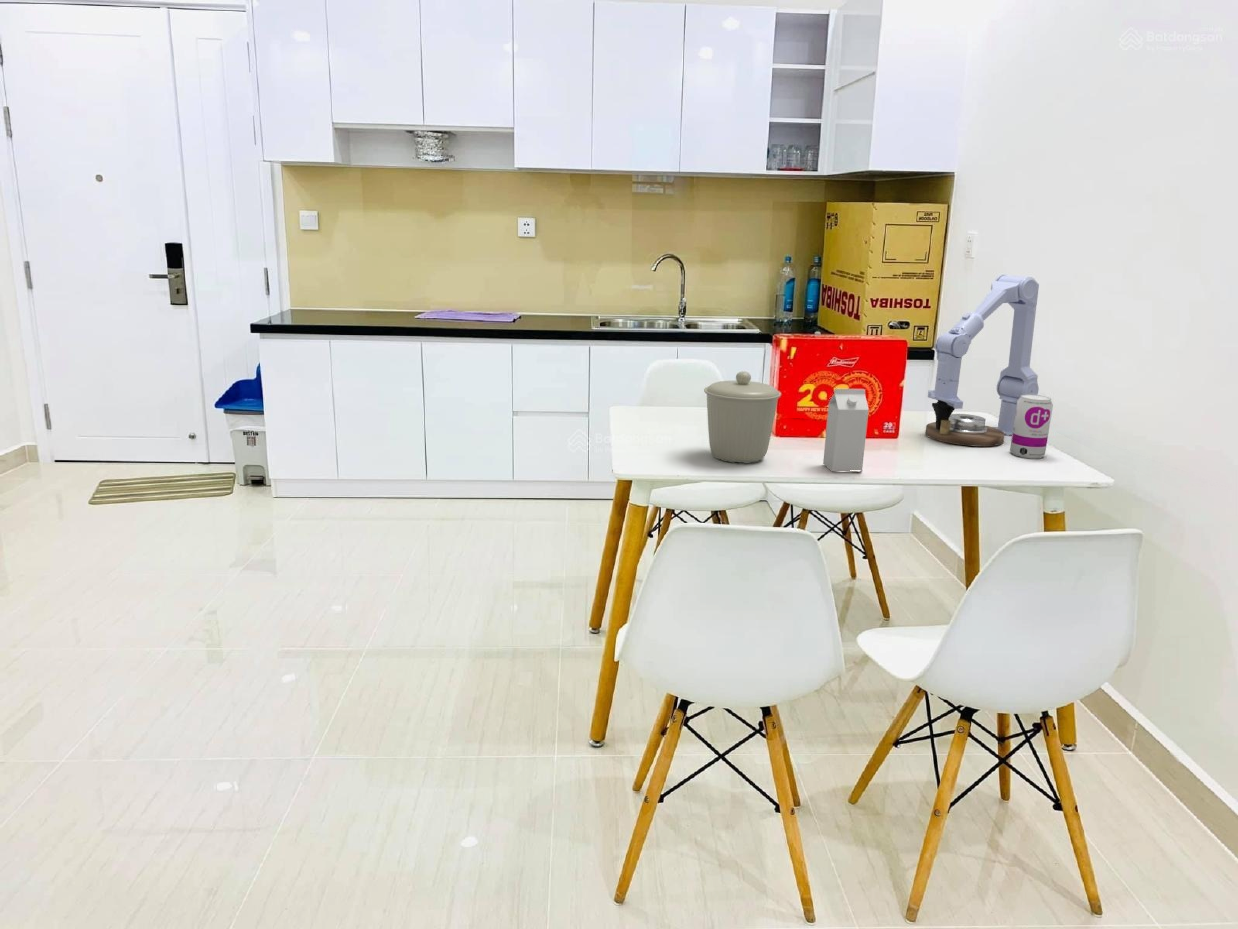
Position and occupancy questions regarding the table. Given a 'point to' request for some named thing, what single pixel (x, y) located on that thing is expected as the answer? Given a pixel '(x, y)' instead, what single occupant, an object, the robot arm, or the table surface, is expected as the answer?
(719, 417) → the canister
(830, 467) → the milk carton
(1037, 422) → the supplement can
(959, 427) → the cover
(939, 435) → the turntable
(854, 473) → the table surface
